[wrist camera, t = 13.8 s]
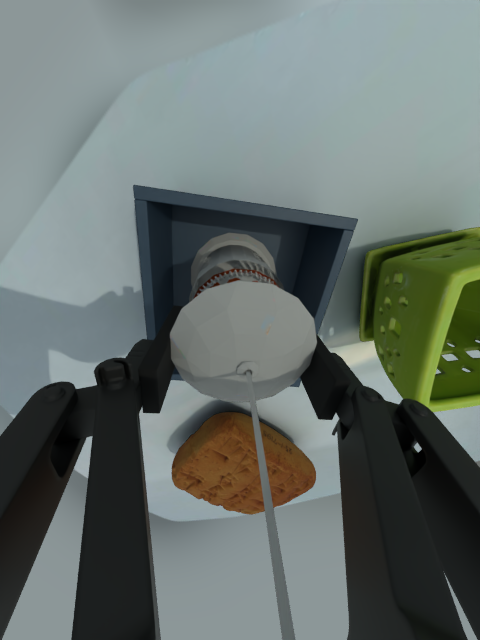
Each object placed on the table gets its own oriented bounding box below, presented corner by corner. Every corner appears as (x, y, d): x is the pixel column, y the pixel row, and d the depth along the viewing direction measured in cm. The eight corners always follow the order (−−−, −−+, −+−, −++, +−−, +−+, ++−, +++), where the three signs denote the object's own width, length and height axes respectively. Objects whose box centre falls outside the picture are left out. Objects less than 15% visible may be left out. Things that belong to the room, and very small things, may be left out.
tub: (165, 193, 20) (132, 184, 13) (316, 216, 22) (358, 219, 15) (169, 336, 28) (150, 378, 21) (281, 345, 30) (299, 387, 22)
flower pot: (474, 212, 23) (716, 214, 11) (442, 321, 29) (577, 390, 18) (346, 242, 23) (456, 271, 12) (343, 341, 30) (413, 420, 19)
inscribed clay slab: (311, 441, 41) (329, 489, 34) (251, 478, 46) (255, 526, 39) (227, 389, 33) (227, 438, 26) (166, 441, 38) (153, 493, 31)
